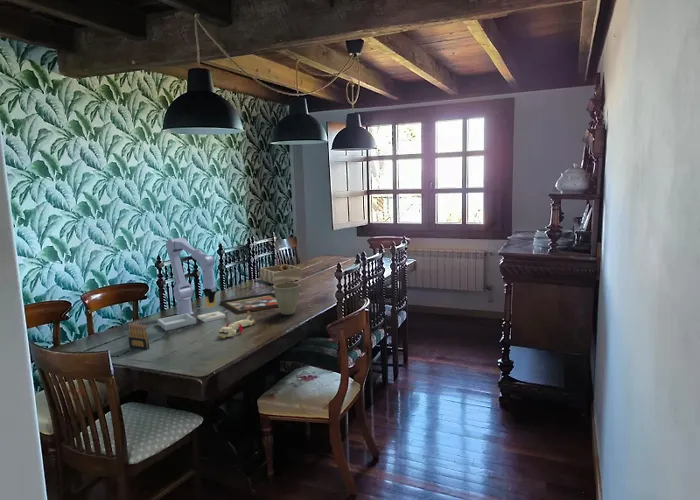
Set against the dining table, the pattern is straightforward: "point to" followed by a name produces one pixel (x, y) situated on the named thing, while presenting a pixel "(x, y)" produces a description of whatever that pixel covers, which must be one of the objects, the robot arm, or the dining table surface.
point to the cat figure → (235, 326)
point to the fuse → (209, 303)
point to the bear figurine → (283, 268)
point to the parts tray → (176, 321)
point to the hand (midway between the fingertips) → (210, 302)
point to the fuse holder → (211, 316)
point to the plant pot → (287, 296)
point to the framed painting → (251, 303)
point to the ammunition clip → (138, 337)
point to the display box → (280, 274)
